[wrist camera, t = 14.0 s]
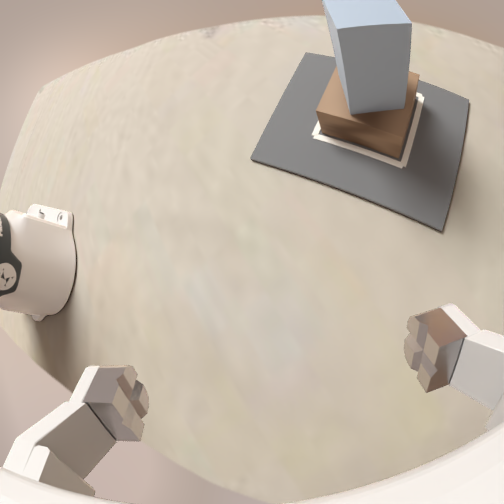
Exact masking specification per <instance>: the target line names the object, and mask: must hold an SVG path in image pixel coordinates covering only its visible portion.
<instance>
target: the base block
mask: <svg viewBox="0 0 504 504" xmlns="http://www.w3.org/2000/svg"><path fill="white" fill-rule="evenodd" d="M418 81H419V74H416V73H413V72H410V71H409V73H408V82H407V91H406V99H405V106H404V109H396V110H386V111H377V112H368V113H360V114H353V115H350V112H349V108H348V105H347V101H346V98H345V94H344V91H343V88H342V84H341V81H340V78H339V75H338V69H337V66H336V68H335V70H334V72H333V75H332V77H331V79H330V81H329V83H328V85H327V87H326V90H325V92H324V94H323V96H322V98H321V100H320V103H319V105H318V107H317V109H316V113H317V117H318V120H319V124H320V127H321V131H322V133H324V134H327V135H330V136H334V137H337V138H340V139H344V140H347V141H350V142H353V143H356V144H359V145H362V146H365V147H368V148H371V149H374V150H376V151H379V152H382V153H385V154H387V155H390V156H393V157H395V158H398V159H399V156H400V153H401V149H402V146H403V143H404V139H405V136H406V133H407V129H408V126H409V122H410V118H411V115H412V111H413V107H414V103H415V99H416V94H417V87H418Z"/></svg>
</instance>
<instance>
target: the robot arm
mask: <svg viewBox="0 0 504 504" xmlns="http://www.w3.org/2000/svg"><path fill="white" fill-rule="evenodd" d="M72 225H73V215H72V213H71V212H69V211H64V210H60V209H56V208H51V207H47V206H42V205H38V204H32V205H31V206H30V207H29V209H28V210H27V212H26V213H22V212H19V211H16V210H10V211H9V212H7V213H6V214H2V213H0V308H1V309H3V310H7V311H13V312H18V313H25V314H31V316H32V318H33V320H35V321H41V320H42V319H43V318H44V317H45V316H46V315H53V314H56V313H58V312H59V311H60V310H61V309H62V308H63V307H64V305H65V303H66V302H67V300H68V297H69V295H70V292H71V289H72V286H73V281H74V276H75V267H76V253H75V245H74V240H73V235H72ZM407 329H408V330H409V332H410V333H409V335H408V336H407V338H406V339H405V343H404V353H405V358H406V360H407V363H408V365H409V366H410V368H411V369H413V370H416V371H418V375H417V379H418V381H419V382H420V384H421V386H422V387H423V389H424V390H425V392H426V393H428V392H430V391H433V390H436V389H438V388H441V387H443V386H446V385H448V384H450V385H449V386H451V387H453V388H454V389H456V390H458V391H460V392H461V393H463V394H465V395H466V396H468V397H470V398H472V399H473V400H475V401H477V402H479V403H480V404H482V405H484V406H486V407H487V408H489V409H491V410H492V411H493V412H492V414H491V415H490V417H489V419H488V420H487V422H486V425H485V427H486V428H487V430H488V432H486V433H484V434H482V435H481V436H479V437H477V438H476V439H474V440H472V441H470V442H468V443H467V444H465V445H463V446H461V447H459V448H457V449H455V450H453V451H451V452H449V453H447V454H445V455H443V456H441V457H439V458H437V459H434V460H432V461H430V462H428V463H425V464H423V465H421V466H418V467H416V468H413V469H411V470H408V471H406V472H403V473H401V474H398V475H395V476H392V477H390V478H387V479H384V480H381V481H378V482H375V483H371V484H368V485H365V486H361V487H358V488H354V489H351V490H347V491H343V492H339V493H335V494H331V495H326V496H322V497H317V498H312V499H306V500H301V501H295V502H288V503H281V504H504V336H503V335H500V334H497V333H494V332H491V331H488V330H485V329H484V330H482V331H481V330H480V329H479V328H478V327H477V326H476V325H475V324H474V323H473V322H472V321H471V320H470V319H469V318H468V317H467V316H466V315H465V314H464V313H463V312H462V311H461V310H460V309H459V308H458V307H457V306H455V305H454V304H452V303H449V304H446V305H443V306H440V307H438V308H436V309H433V310H429V311H426V312H423V313H420V314H417V315H414V316H410V318H409V320H408V323H407ZM137 375H138V374H137V372H136V371H135V369H134V367H133V366H130V365H102V366H88V367H87V368H85V370H84V372H83V374H82V376H81V378H80V380H79V382H78V384H77V386H76V388H75V390H74V392H73V394H72V396H71V398H70V400H69V402H66V401H65V402H64V403H62V404H61V405H60V406H58V407H57V408H56V409H54V410H53V411H52V412H50V413H49V414H48V415H46V416H45V417H44V418H42V419H41V420H40V421H38V422H37V423H36V424H34V425H33V426H32V427H30V428H29V429H28V430H26V431H25V432H24V433H22V434H21V435H20V436H18V437H17V438H16V440H15V442H14V444H13V446H12V448H11V451H10V453H9V455H8V457H7V459H6V461H5V464H4V466H3V467H1V466H0V504H132V503H125V502H118V501H113V500H107V499H102V498H97V497H94V495H95V490H94V489H93V487H91V486H90V485H89V484H88V483H86V482H85V481H84V478H85V477H86V476H87V475H88V474H89V473H90V472H91V470H92V469H93V468H94V467H95V466H96V465H97V464H98V463H99V461H100V460H101V459H102V458H103V457H104V456H105V455H106V453H107V452H108V451H109V450H110V449H111V448H112V446H114V444H115V443H116V441H141V437H142V433H143V429H144V425H145V424H144V423H143V421H142V418H143V417H144V416H145V415H146V414H147V412H148V408H149V397H148V394H147V391H146V389H145V387H144V385H143V384H142V383H140V382H139V381H137V380H136V378H137Z"/></svg>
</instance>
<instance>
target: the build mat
mask: <svg viewBox="0 0 504 504" xmlns="http://www.w3.org/2000/svg"><path fill="white" fill-rule="evenodd" d="M336 66H337V64H336V59H335V57H330V56H324V55H319V54H313V53H305V55H304V57H303V58H302V60H301V62H300V64H299V66H298V68H297V69H296V71H295V73H294V75H293V77H292V79H291V80H290V82H289V84H288V86H287V88H286V90H285V92H284V93H283V95H282V97H281V99H280V101H279V103H278V105H277V107H276V109H275V111H274V112H273V114H272V116H271V118H270V120H269V122H268V124H267V126H266V128H265V130H264V132H263V134H262V136H261V138H260V140H259V142H258V144H257V146H256V148H255V150H254V152H253V154H252V156H251V158H250V159H251V160H253V161H256V162H260V163H263V164H266V165H269V166H273V167H276V168H279V169H282V170H285V171H288V172H291V173H294V174H297V175H300V176H303V177H306V178H309V179H312V180H315V181H318V182H320V183H323V184H326V185H329V186H332V187H334V188H337V189H340V190H342V191H345V192H348V193H350V194H353V195H356V196H358V197H361V198H363V199H366V200H368V201H371V202H373V203H376V204H378V205H381V206H383V207H386V208H388V209H391V210H393V211H395V212H398V213H400V214H402V215H405V216H407V217H409V218H412V219H414V220H416V221H419V222H421V223H423V224H425V225H427V226H430V227H432V228H434V229H436V230H438V231H440V232H441V231H442V229H443V226H444V222H445V219H446V216H447V212H448V208H449V205H450V201H451V197H452V193H453V189H454V185H455V181H456V176H457V172H458V167H459V162H460V157H461V152H462V146H463V140H464V134H465V128H466V121H467V113H468V104H469V100H468V99H466V98H464V97H461V96H459V95H457V94H454V93H452V92H449V91H447V90H444V89H442V88H439V87H437V86H434V85H431V84H429V83H426V82H423V81H420V80H419V81H418V87H417V94H416V99H415V103H414V107H413V111H412V115H411V118H410V122H409V126H408V129H407V133H406V136H405V139H404V143H403V146H402V149H401V153H400V156H399V159H398V158H395V157H393V156H390V155H387V154H385V153H382V152H379V151H376V150H374V149H371V148H368V147H365V146H362V145H359V144H356V143H353V142H350V141H347V140H344V139H340V138H337V137H334V136H330V135H327V134H324V133H322V131H321V127H320V124H319V120H318V117H317V113H316V109H317V107H318V105H319V103H320V100H321V98H322V96H323V94H324V92H325V90H326V87H327V85H328V83H329V81H330V79H331V77H332V75H333V72H334V70H335V68H336Z"/></svg>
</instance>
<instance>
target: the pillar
mask: <svg viewBox="0 0 504 504" xmlns="http://www.w3.org/2000/svg"><path fill="white" fill-rule="evenodd" d="M322 3H323V6H324V10H325V14H326V18H327V23H328V27H329V31H330V35H331V40H332V44H333V49H334V54H335V59H336V64H337V69H338V75H339V78H340V81H341V84H342V88H343V91H344V94H345V98H346V101H347V105H348V108H349V112H350V115H353V114H360V113H368V112H377V111H386V110H396V109H404V106H405V99H406V91H407V82H408V73H409V62H410V49H411V32H412V23H411V21H410V20H409V18H408V17H407V16H406V14H405V13H404V11H403V10H402V9H401V7H400V6H399V4H398V3H397V2H396V1H395V0H322Z"/></svg>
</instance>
